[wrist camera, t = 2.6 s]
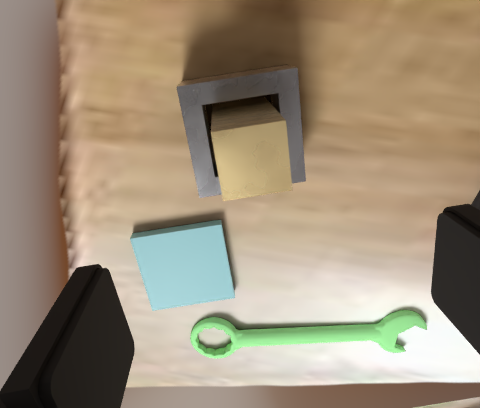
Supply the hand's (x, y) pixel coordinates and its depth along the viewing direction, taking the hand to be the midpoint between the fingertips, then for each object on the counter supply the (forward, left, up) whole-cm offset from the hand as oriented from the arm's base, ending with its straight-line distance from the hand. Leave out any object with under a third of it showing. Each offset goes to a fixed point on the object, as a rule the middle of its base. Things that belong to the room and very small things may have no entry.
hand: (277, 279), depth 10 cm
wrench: (+23, +4, -21) cm, 31 cm away
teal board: (+12, -7, -20) cm, 25 cm away
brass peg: (0, 0, -21) cm, 20 cm away
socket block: (0, 0, -20) cm, 20 cm away
